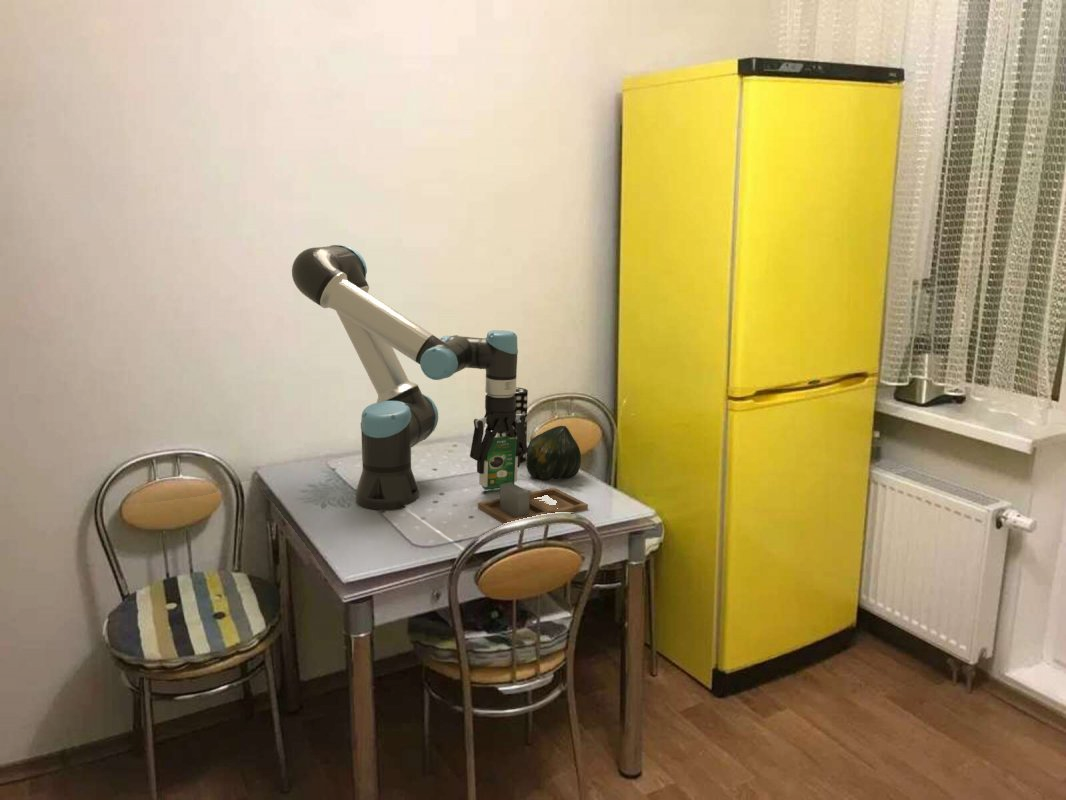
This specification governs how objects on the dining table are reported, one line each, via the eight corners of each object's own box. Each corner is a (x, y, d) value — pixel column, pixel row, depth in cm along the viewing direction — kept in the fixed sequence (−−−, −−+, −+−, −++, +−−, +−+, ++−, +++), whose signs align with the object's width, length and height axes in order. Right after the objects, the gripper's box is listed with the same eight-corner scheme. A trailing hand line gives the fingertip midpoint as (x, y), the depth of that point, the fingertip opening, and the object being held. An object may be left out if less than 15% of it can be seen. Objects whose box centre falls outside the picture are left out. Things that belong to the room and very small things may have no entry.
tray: (509, 530, 192) (509, 521, 192) (477, 511, 203) (477, 503, 203) (587, 512, 204) (587, 504, 203) (553, 495, 215) (554, 487, 215)
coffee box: (511, 483, 219) (512, 434, 215) (515, 487, 216) (517, 437, 213) (481, 487, 215) (482, 437, 212) (485, 490, 213) (486, 440, 210)
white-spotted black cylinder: (492, 456, 246) (493, 388, 241) (519, 453, 250) (520, 386, 245) (504, 464, 239) (504, 394, 234) (531, 461, 242) (532, 392, 238)
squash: (506, 455, 229) (537, 421, 220) (543, 446, 240) (573, 413, 231) (535, 499, 224) (567, 465, 215) (570, 487, 235) (602, 455, 227)
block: (518, 519, 197) (518, 494, 195) (499, 508, 203) (500, 484, 202) (529, 516, 198) (529, 492, 197) (510, 506, 205) (511, 482, 203)
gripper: (471, 402, 201) (469, 493, 207) (544, 393, 213) (541, 480, 218) (455, 395, 207) (454, 484, 213) (527, 387, 219) (524, 472, 224)
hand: (498, 482), depth 215 cm, fingers closed on coffee box, 8 cm apart
